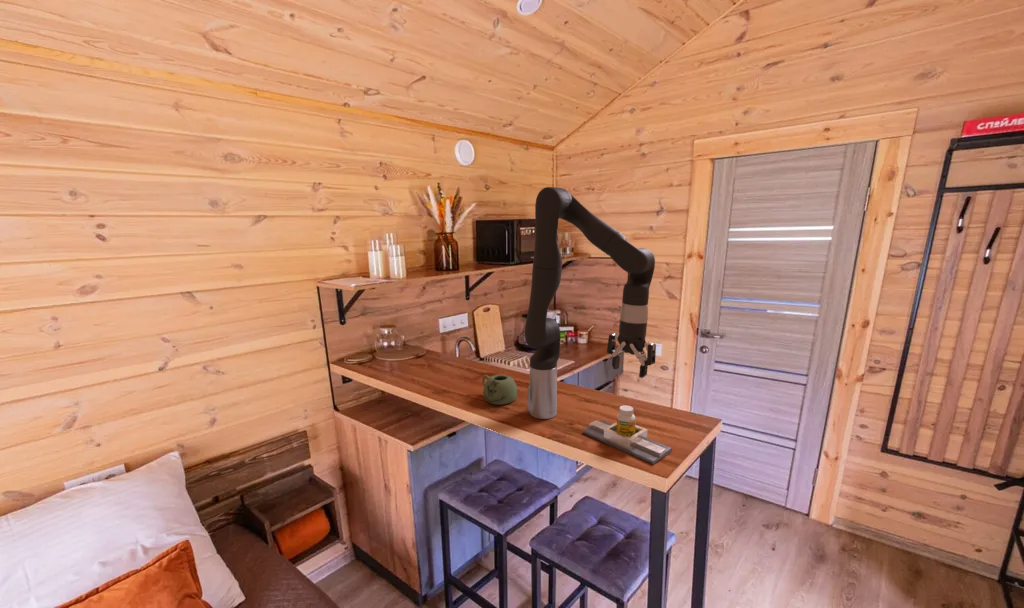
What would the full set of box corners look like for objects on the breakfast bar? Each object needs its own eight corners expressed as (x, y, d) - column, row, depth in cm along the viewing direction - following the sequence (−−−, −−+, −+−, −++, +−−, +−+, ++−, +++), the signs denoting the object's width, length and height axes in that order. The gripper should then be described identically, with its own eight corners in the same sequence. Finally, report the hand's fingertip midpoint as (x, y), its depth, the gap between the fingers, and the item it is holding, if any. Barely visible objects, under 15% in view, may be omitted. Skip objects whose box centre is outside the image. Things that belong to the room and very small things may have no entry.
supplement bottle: (633, 434, 126) (634, 404, 124) (636, 443, 121) (637, 412, 119) (615, 433, 127) (616, 403, 125) (617, 442, 122) (618, 411, 120)
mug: (524, 398, 156) (524, 376, 154) (501, 409, 147) (500, 386, 145) (494, 388, 167) (494, 367, 165) (470, 398, 157) (470, 376, 156)
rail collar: (582, 432, 129) (582, 421, 129) (602, 422, 136) (602, 411, 135) (653, 464, 112) (654, 451, 111) (671, 451, 118) (672, 438, 117)
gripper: (604, 316, 120) (600, 369, 123) (650, 326, 110) (644, 383, 113) (618, 312, 125) (614, 363, 129) (663, 321, 115) (657, 376, 119)
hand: (628, 372), depth 121 cm, fingers open, 8 cm apart
